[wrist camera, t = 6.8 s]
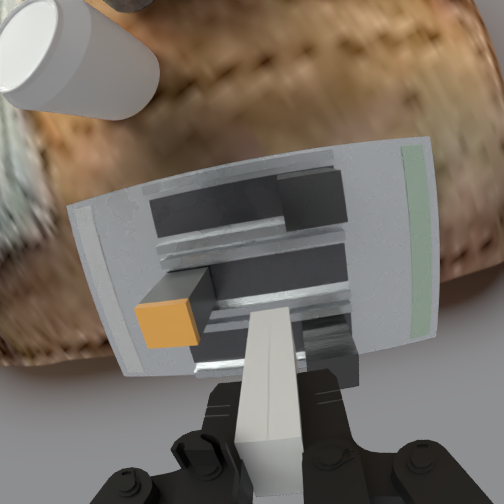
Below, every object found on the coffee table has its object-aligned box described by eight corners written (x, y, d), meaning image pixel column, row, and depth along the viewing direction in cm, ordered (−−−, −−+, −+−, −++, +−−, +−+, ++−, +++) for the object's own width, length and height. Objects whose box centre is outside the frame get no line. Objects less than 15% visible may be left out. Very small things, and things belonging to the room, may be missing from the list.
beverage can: (79, 104, 21) (-36, 87, 9) (118, 36, 19) (20, -22, 8) (136, 135, 21) (23, 127, 10) (180, 62, 20) (96, -9, 8)
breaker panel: (132, 363, 27) (100, 412, 20) (80, 201, 23) (23, 219, 16) (427, 325, 24) (462, 373, 17) (417, 137, 20) (468, 132, 13)
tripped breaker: (175, 306, 22) (148, 348, 17) (166, 273, 22) (133, 308, 16) (216, 301, 22) (198, 345, 17) (208, 266, 21) (185, 302, 16)
